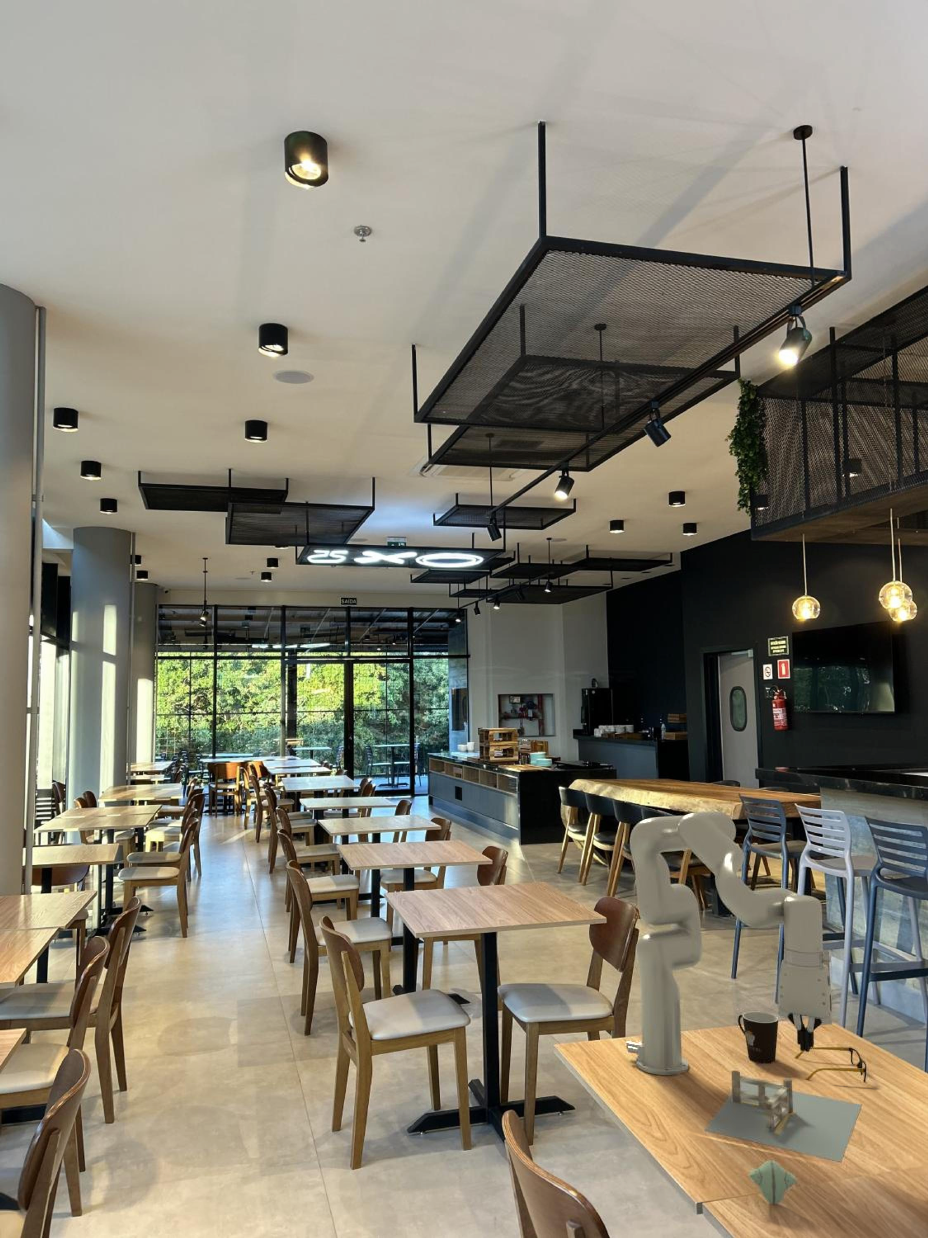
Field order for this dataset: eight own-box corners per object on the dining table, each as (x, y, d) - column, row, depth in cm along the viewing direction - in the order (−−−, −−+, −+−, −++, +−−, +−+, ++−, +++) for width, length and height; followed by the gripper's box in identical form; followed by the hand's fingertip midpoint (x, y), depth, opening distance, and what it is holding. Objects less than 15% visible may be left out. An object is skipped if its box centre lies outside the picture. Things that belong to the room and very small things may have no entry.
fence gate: (783, 1110, 190) (782, 1086, 191) (789, 1111, 190) (788, 1088, 190) (766, 1128, 182) (765, 1103, 182) (772, 1129, 181) (771, 1104, 182)
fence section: (731, 1101, 196) (730, 1071, 197) (733, 1098, 198) (732, 1068, 198) (792, 1114, 190) (790, 1082, 190) (793, 1111, 191) (792, 1080, 192)
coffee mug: (785, 1065, 218) (783, 1023, 219) (749, 1065, 218) (748, 1022, 219) (769, 1048, 230) (767, 1008, 231) (736, 1048, 230) (734, 1008, 231)
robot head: (750, 1207, 154) (749, 1165, 155) (748, 1194, 158) (746, 1154, 159) (799, 1212, 152) (797, 1170, 153) (795, 1200, 156) (794, 1159, 157)
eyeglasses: (871, 1086, 207) (870, 1068, 207) (805, 1082, 209) (804, 1064, 210) (855, 1063, 221) (854, 1046, 221) (794, 1059, 223) (793, 1043, 224)
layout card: (704, 1132, 182) (704, 1129, 182) (741, 1082, 208) (741, 1080, 208) (840, 1164, 169) (840, 1161, 169) (861, 1107, 194) (861, 1104, 194)
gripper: (845, 959, 185) (847, 1051, 183) (770, 948, 192) (772, 1036, 190) (839, 968, 178) (842, 1063, 176) (762, 956, 186) (764, 1047, 184)
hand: (805, 1049), depth 183 cm, fingers closed
